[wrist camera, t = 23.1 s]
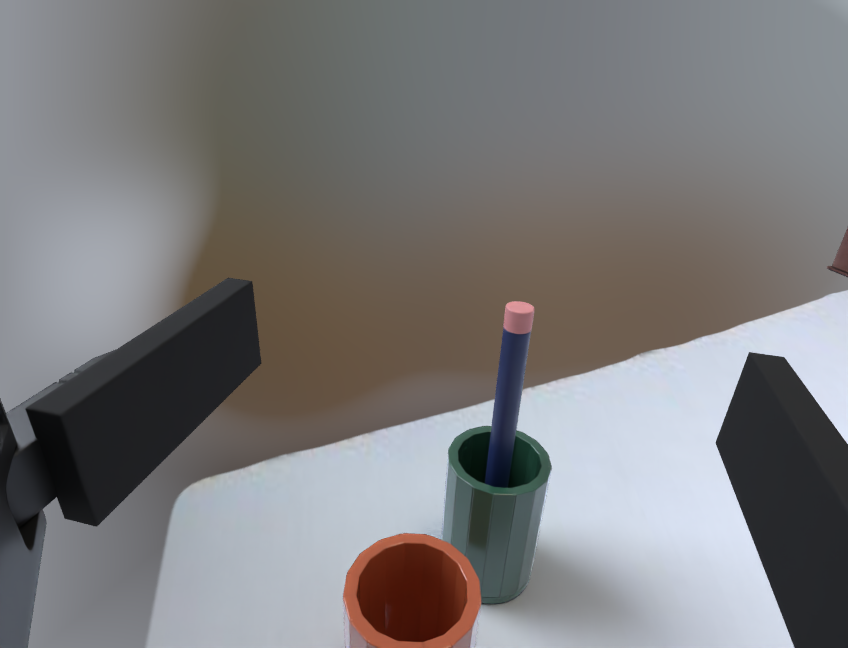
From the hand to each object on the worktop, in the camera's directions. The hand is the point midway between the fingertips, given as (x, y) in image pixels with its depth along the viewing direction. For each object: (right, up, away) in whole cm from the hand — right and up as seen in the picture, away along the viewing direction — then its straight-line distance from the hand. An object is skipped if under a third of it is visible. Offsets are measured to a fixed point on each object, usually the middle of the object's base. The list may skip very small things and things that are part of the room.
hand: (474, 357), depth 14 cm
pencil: (+3, -14, +21) cm, 25 cm away
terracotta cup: (-2, -19, +13) cm, 23 cm away
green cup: (+3, -15, +21) cm, 26 cm away
